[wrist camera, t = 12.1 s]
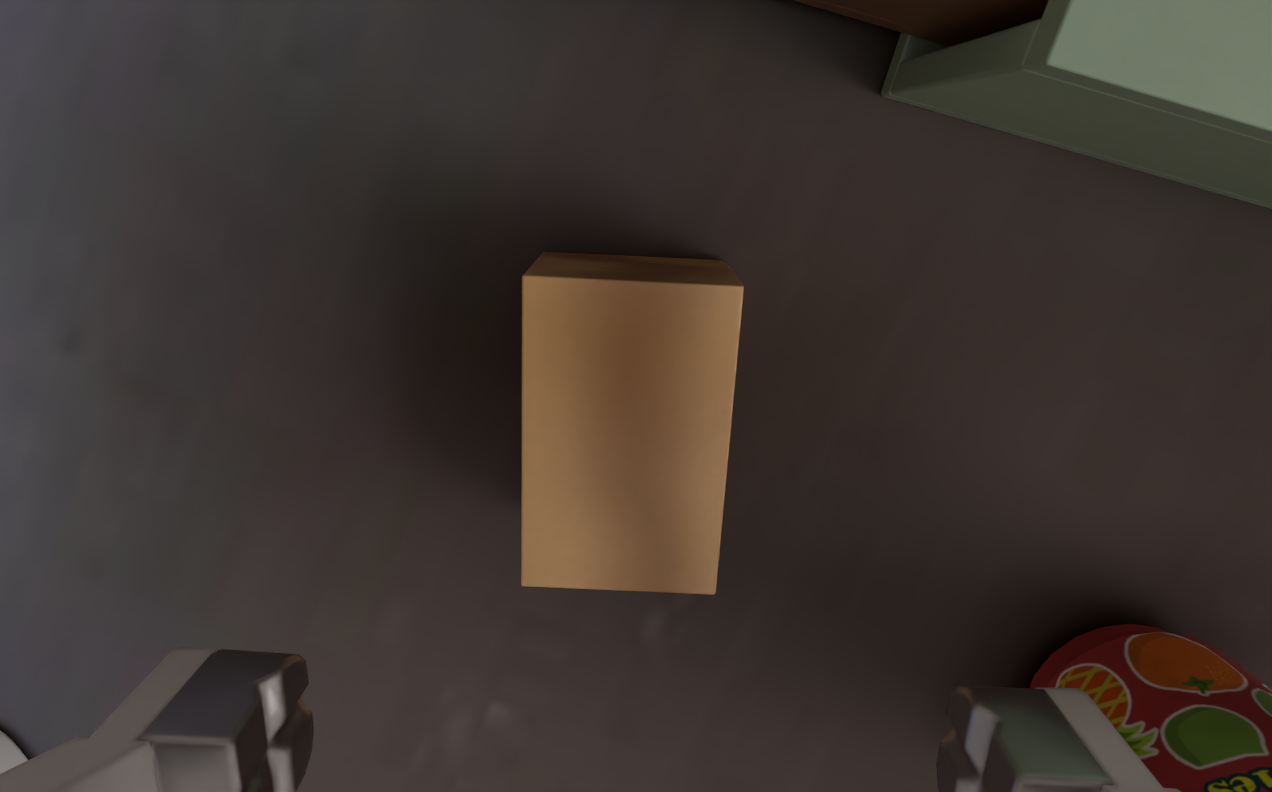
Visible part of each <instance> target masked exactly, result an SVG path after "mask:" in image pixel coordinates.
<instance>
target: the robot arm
mask: <svg viewBox="0 0 1272 792" xmlns="http://www.w3.org/2000/svg"><path fill="white" fill-rule="evenodd" d="M308 684H309V680H308V673H307V666H306V660H304V659H303V658H302V657H301V656H300V655H299V654H284V653H270V652H255V651H241V650H226V649H222V650H217V649H205V648H187V647H182V648H179V649H176V650H173V651H171V652H170V653H169V654H168V655H167V656H166V657H165V658H164V659H163V660H162V661H161V662H160V663H159V664H158V665H157V666H156V667H155V668H154V669H153V670H152V672H151V673H150V674H149V675H148V676H147V677H146V678H145V679H144V680H143V681H142V682H141V683H140V684H139V685H138V686H137V687H136V688H135V689H134V690H133V692H132V693H131V694H130V695H129V696H128V697H127V698H126V699H125V700H124V701H123V702H122V703H121V704H120V705H119V706H118V707H117V708H116V709H115V710H114V712H113V713H112V714H111V715H110V716H109V717H108V718H107V719H106V720H105V721H104V722H103V723H102V724H101V725H100V726H99V727H98V728H97V729H96V730H95V732H94V733H93V734H92V735H91V736H90V737H89V738H73V739H71V740H69V741H67V742H65V743H63V744H61V745H59V746H57V747H55V748H53V749H51V750H49V751H47V752H44V753H42V754H40V755H38V756H36V757H34V758H32V759H30V760H28V759H27V758H26V756H25V755H24V754H23V753H22V751H21V750H20V749H19V748H18V746H17V745H16V744H15V743H14V742H13V741H12V740H11V739H10V738H9V737H8V736H7V735H6V734H4V733H3V732H2V731H0V792H296V790H297V788H298V786H299V784H300V782H301V780H302V778H303V776H304V775H305V772H306V768H307V765H308V761H309V758H310V754H311V751H312V743H313V730H314V729H313V718H312V712H311V711H310V710H309V709H308V708H307V706H306V705H305V704H304V703H303V702H302V701H301V700H300V699H299V698H300V696H301V695H302V693H303V692H304V690H305V688H306V687H307V685H308ZM946 713H947V715H948V717H949V719H950V721H951V723H952V725H953V727H954V729H953V730H952V731H951V732H950V733H949V734H948V735H947V736H946V737H945V738H943V739H942V740H941V741H940V745H939V751H938V757H937V764H936V765H937V781H938V790H939V792H1181V791H1180V790H1178V789H1171V788H1163V787H1162V786H1161V784H1160V783H1159V782H1158V781H1157V780H1156V778H1155V777H1154V776H1153V775H1152V773H1151V772H1150V771H1149V770H1148V768H1147V767H1146V766H1145V765H1144V763H1143V762H1142V761H1141V760H1140V758H1139V757H1138V756H1137V755H1136V753H1135V752H1134V751H1133V750H1132V748H1131V747H1130V746H1129V745H1128V744H1127V742H1126V741H1125V740H1124V739H1123V737H1122V736H1121V735H1120V734H1119V732H1118V731H1117V730H1116V729H1115V727H1114V726H1113V725H1112V724H1111V722H1110V721H1109V720H1108V719H1107V717H1106V716H1105V715H1104V714H1103V713H1102V711H1101V710H1100V709H1099V708H1098V706H1097V705H1096V704H1095V703H1094V701H1093V700H1092V699H1091V698H1090V696H1089V695H1088V694H1087V693H1085V692H1083V691H1081V690H1080V689H1078V688H1043V687H1037V688H1035V689H1029V688H1005V687H981V686H957V685H956V686H955V687H954V689H953V691H952V692H951V694H950V696H949V701H948V705H947V710H946Z"/></svg>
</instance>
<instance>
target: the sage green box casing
mask: <svg viewBox="0 0 1272 792" xmlns="http://www.w3.org/2000/svg"><path fill="white" fill-rule="evenodd" d="M881 96H883V97H885V98H889V99H892V100H896V101H899V102H902V103H906V104H909V105H913V106H916V107H920V108H923V109H927V110H930V111H934V112H937V113H941V114H944V115H947V116H951V117H954V118H958V119H961V120H965V121H968V122H972V123H975V124H979V125H982V126H985V127H989V128H992V129H996V130H999V131H1003V132H1006V133H1010V134H1013V135H1017V136H1020V137H1024V138H1027V139H1030V140H1034V141H1037V142H1041V143H1044V144H1048V145H1051V146H1055V147H1058V148H1062V149H1065V150H1068V151H1072V152H1075V153H1079V154H1082V155H1086V156H1089V157H1093V158H1096V159H1100V160H1103V161H1107V162H1110V163H1113V164H1117V165H1120V166H1124V167H1127V168H1131V169H1134V170H1138V171H1141V172H1145V173H1148V174H1151V175H1155V176H1158V177H1162V178H1165V179H1169V180H1172V181H1176V182H1179V183H1183V184H1186V185H1190V186H1193V187H1196V188H1200V189H1203V190H1207V191H1210V192H1214V193H1217V194H1221V195H1224V196H1228V197H1231V198H1234V199H1238V200H1241V201H1245V202H1248V203H1252V204H1255V205H1259V206H1262V207H1266V208H1269V209H1272V0H1049V1H1048V3H1047V6H1046V9H1045V11H1044V14H1043V16H1042V19H1039V20H1035V21H1032V22H1029V23H1025V24H1022V25H1019V26H1016V27H1012V28H1009V29H1006V30H1003V31H999V32H996V33H993V34H990V35H986V36H983V37H980V38H977V39H973V40H970V41H967V42H964V43H960V44H957V45H954V46H951V47H949V46H945V45H942V44H939V43H935V42H932V41H929V40H925V39H922V38H918V37H915V36H912V35H908V34H905V33H902V32H901V34H900V37H899V40H898V43H897V46H896V49H895V52H894V55H893V58H892V61H891V64H890V67H889V70H888V73H887V76H886V79H885V82H884V85H883V88H882V90H881Z"/></svg>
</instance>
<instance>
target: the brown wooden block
mask: <svg viewBox="0 0 1272 792" xmlns="http://www.w3.org/2000/svg"><path fill="white" fill-rule="evenodd" d="M743 292H744V287H743V285H742V284H741V282H740V281H739V280H738V278H737V277H736V275H735V274H734V273H733V271H732V270H731V269H730V267H729V266H728V264H727V263H726V262H725V261H724V260H706V259H686V258H665V257H645V256H625V255H604V254H584V253H564V252H543V253H542V254H541V255H540V256H539V257H538V258H537V260H536V261H535V262H534V263H533V264H532V265H531V267H530V268H529V269H528V270H527V271H526V272H525V273H524V275H523V276H522V484H521V585H522V586H531V587H554V588H577V589H600V590H622V591H645V592H668V593H691V594H713V595H714V594H715V593H716V585H717V574H718V563H719V552H720V541H721V531H722V520H723V509H724V498H725V487H726V476H727V465H728V455H729V444H730V433H731V422H732V411H733V400H734V389H735V378H736V368H737V357H738V346H739V335H740V324H741V313H742V302H743Z"/></svg>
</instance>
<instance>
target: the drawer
mask: <svg viewBox="0 0 1272 792" xmlns="http://www.w3.org/2000/svg"><path fill="white" fill-rule="evenodd" d="M794 1H797V2H800V3H804V4H807V5H810V6H814V7H817V8H821V9H824V10H827V11H831V12H834V13H837V14H841V15H844V16H848V17H851V18H854V19H858V20H861V21H864V22H868V23H871V24H875V25H878V26H881V27H885V28H888V29H891V30H895V31H898V32H902V33H905V34H908V35H912V36H915V37H918V38H922V39H925V40H929V41H932V42H935V43H939V44H942V45H945V46H949V47H951V46H954V45H957V44H960V43H964V42H967V41H970V40H973V39H977V38H980V37H983V36H986V35H990V34H993V33H996V32H999V31H1003V30H1006V29H1009V28H1012V27H1016V26H1019V25H1022V24H1025V23H1029V22H1032V21H1035V20H1039V19H1042V16H1043V14H1044V11H1045V9H1046V6H1047V3H1048V1H1049V0H794Z"/></svg>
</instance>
